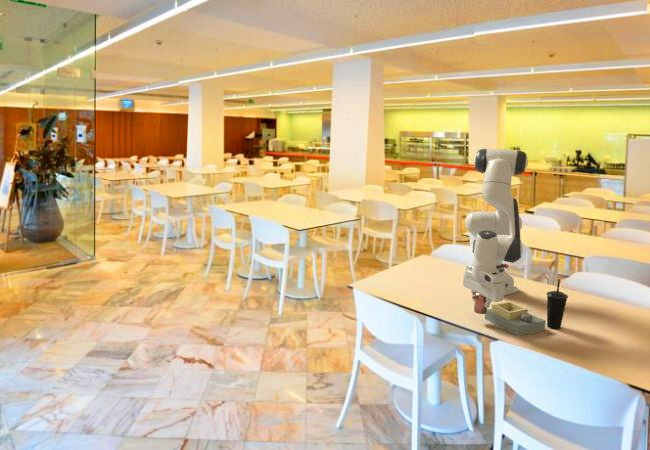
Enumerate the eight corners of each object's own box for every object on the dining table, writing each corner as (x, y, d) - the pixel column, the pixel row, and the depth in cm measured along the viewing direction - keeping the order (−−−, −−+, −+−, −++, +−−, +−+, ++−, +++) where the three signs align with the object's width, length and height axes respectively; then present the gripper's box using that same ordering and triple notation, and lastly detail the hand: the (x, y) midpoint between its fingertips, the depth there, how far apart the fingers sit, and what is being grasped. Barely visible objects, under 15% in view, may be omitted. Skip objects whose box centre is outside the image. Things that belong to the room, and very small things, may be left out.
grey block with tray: (510, 313, 204) (511, 298, 202) (544, 330, 188) (546, 313, 186) (484, 318, 198) (486, 302, 197) (517, 336, 182) (519, 318, 181)
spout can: (480, 308, 197) (482, 288, 195) (489, 312, 192) (491, 292, 190) (467, 310, 194) (469, 291, 192) (475, 315, 190) (477, 295, 188)
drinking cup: (539, 323, 194) (544, 276, 190) (557, 322, 195) (562, 276, 191) (549, 331, 187) (555, 282, 183) (568, 330, 187) (574, 282, 183)
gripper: (460, 265, 198) (458, 296, 201) (495, 280, 179) (492, 314, 183) (472, 263, 200) (470, 294, 203) (508, 278, 182) (505, 312, 185)
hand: (481, 304), depth 193 cm, fingers closed on spout can, 5 cm apart
